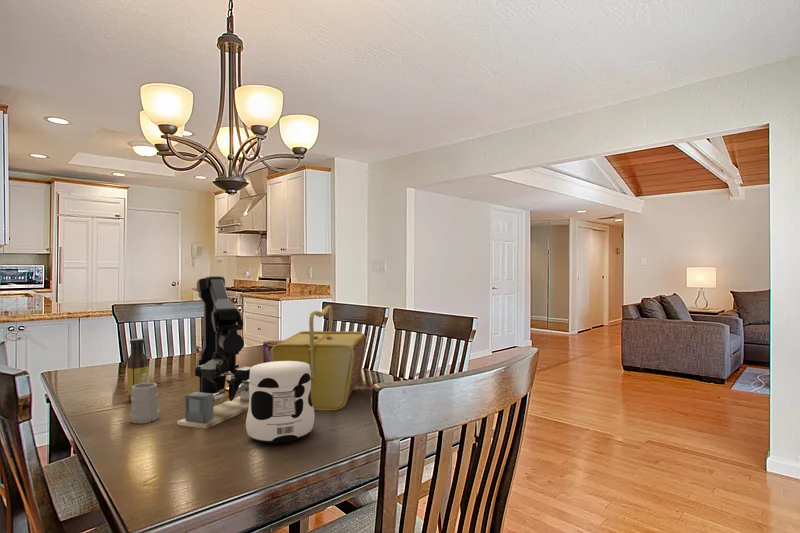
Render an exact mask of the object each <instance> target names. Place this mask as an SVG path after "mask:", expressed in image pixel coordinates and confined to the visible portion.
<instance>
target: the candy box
mask: <svg viewBox="0 0 800 533" xmlns="http://www.w3.org/2000/svg"><path fill="white" fill-rule="evenodd" d="M284 340H285V339H278V340H277V339H273V340H264V341H263V342H262V348H263V349H262V354H263V357H262V360H263V362H262V363H267V362H272V359H271V354H270V351H271V348H272V347H273V346H274V345H276V344H278V343H280V342H282V341H284Z"/></svg>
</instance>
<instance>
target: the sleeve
mask: <svg viewBox="0 0 800 533" xmlns="http://www.w3.org/2000/svg"><path fill="white" fill-rule="evenodd" d="M245 382H249V380H246V381H242V382H241V384H242V383H245ZM239 396H240V400H245V401H249V389H248V390H245V391H243V392H240V393H239Z"/></svg>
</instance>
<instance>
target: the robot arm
mask: <svg viewBox="0 0 800 533" xmlns="http://www.w3.org/2000/svg"><path fill="white" fill-rule="evenodd" d="M196 292H197V293H198V297H199V299H200V300H201V301H202V304H203V347H202V349H201V350H200V352H199V354H198V359H197V361H196V365H195V369H194V376H195V377H197V378H199V390H198V391H197V392H202V393H212V394H215V393H218V392H219V391H220V390H221V389H224V388H226V383H227V384H228V387H229V399H228V401H229V400H230V401H233V399H234V398H236V397H235V396H236V395H237V394H236V392H237V390H238V388H239V386H240V384H241V382H242V381H246V380H249V376H250V368H251V367H252V366H244V367H239V366H240V364H239V363H237V355H239V353H240V352H241V351H242V349H243V348H244V345H245V341H244V339H243V337H242V335H240V334H239V333H238V331H242V330H243V326H244V320H243V317H242V313H240V310H239V309H238V307H237V305H236V304H235V302H233V301H232V300H230V299H229V296H228V295H229V294H228V293H227V289H226V279H225V277H224V276H223V275H209V276H206V277H201V278H200V279H197V281H196ZM227 376H230V378H228V379H226V378H227Z"/></svg>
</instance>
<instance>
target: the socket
mask: <svg viewBox="0 0 800 533" xmlns="http://www.w3.org/2000/svg"><path fill="white" fill-rule="evenodd" d="M213 407H214V403H213V394H212V393H202V392H198V391H195V392H191V393H189V394H186V395H185V418H186V421H189V422H197V423H205V422H207V421H210V420H212V419H213Z"/></svg>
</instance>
